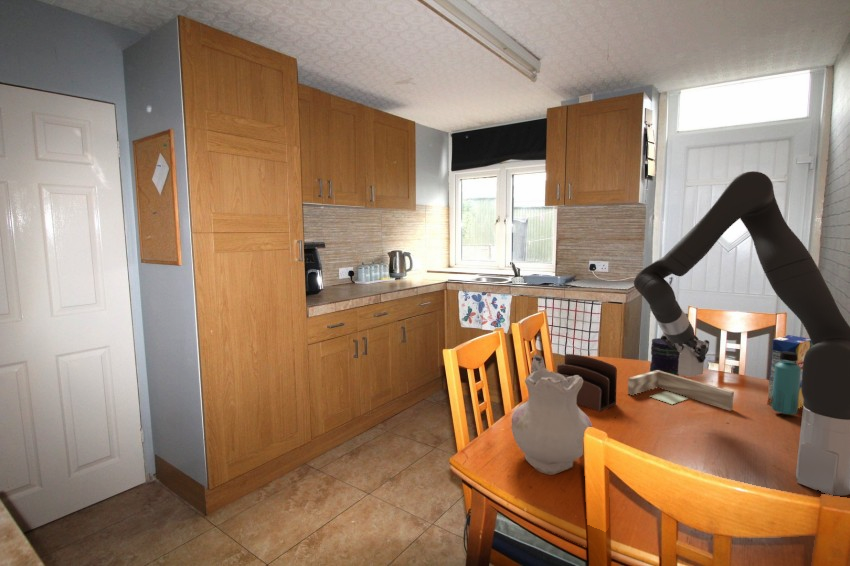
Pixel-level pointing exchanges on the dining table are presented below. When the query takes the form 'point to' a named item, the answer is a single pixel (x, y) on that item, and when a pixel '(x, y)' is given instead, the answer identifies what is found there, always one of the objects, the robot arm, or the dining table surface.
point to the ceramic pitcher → (550, 420)
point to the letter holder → (592, 380)
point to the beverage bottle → (786, 384)
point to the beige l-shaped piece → (680, 389)
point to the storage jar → (664, 357)
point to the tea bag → (689, 364)
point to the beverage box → (790, 345)
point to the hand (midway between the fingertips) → (694, 358)
